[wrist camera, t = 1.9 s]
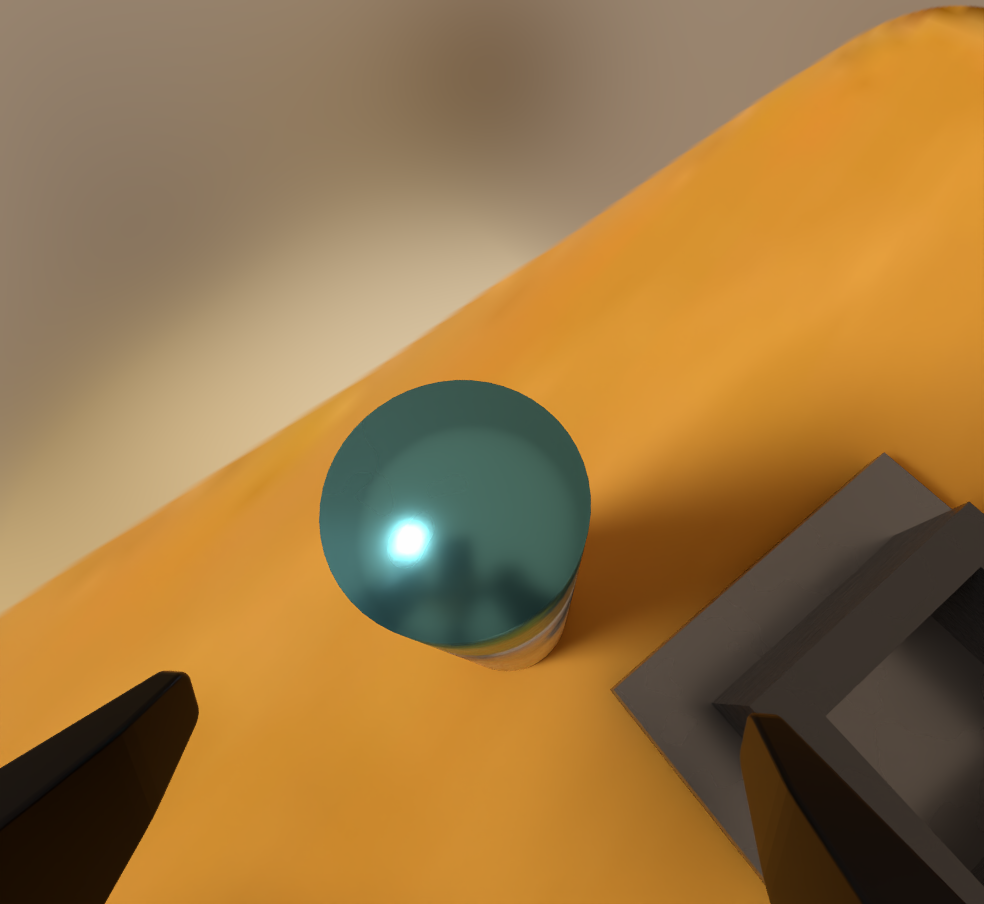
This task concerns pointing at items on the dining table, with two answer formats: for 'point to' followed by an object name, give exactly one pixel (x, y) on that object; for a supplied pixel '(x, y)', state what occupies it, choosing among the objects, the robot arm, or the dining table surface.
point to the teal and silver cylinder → (460, 521)
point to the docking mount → (844, 669)
